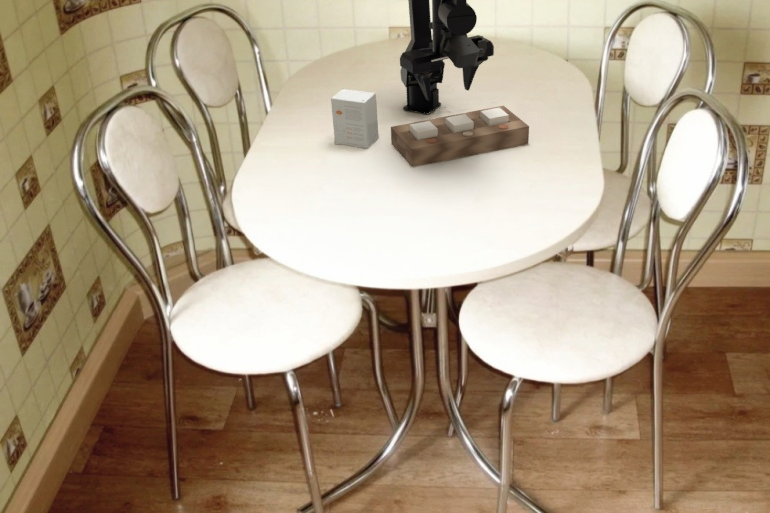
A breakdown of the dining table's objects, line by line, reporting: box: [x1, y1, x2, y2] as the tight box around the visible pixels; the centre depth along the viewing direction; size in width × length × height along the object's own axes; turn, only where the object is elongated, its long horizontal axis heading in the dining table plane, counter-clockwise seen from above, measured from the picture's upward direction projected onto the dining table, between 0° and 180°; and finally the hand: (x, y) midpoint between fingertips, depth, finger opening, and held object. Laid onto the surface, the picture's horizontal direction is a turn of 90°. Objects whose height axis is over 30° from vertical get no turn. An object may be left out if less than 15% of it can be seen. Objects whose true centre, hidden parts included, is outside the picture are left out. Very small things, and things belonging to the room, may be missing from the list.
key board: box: [390, 105, 530, 168], centre depth 199 cm, size 26×12×4 cm, turn 110°
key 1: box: [410, 121, 438, 140], centre depth 196 cm, size 4×4×3 cm
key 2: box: [480, 108, 509, 126], centre depth 201 cm, size 4×4×3 cm
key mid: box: [445, 114, 474, 133], centre depth 198 cm, size 4×4×3 cm
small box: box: [330, 88, 380, 149], centre depth 201 cm, size 8×6×10 cm
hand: (447, 94), depth 193 cm, fingers open, 9 cm apart
